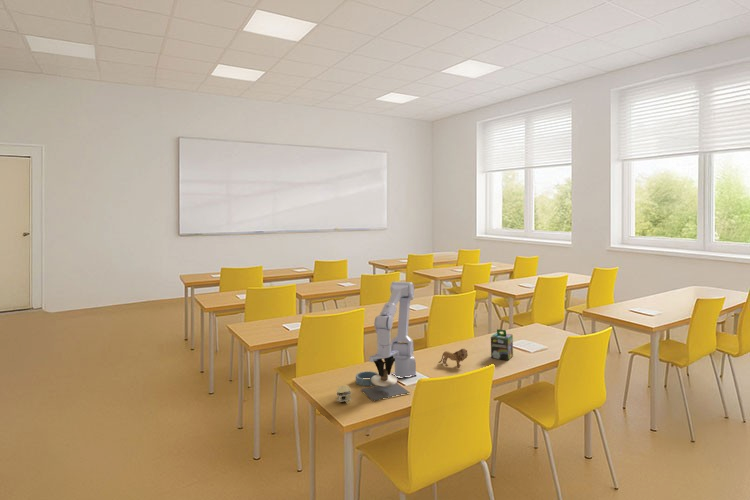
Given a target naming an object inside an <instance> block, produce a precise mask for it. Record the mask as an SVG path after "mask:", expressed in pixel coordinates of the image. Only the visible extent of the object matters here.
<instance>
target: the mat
mask: <svg viewBox="0 0 750 500" xmlns="http://www.w3.org/2000/svg"><path fill="white" fill-rule="evenodd" d="M360 392H362V393H363V392H364V393H365V394H366V395H367V396H368V397H369V398H368V397H367V396H366V395H365V394H364V393H363V394H364V395H365V396H366V397H367V398H368V399H370V400H371V399H372V400H373V401H374V400H379V399H383V398H388V397H392V396H396V395H401V394H407V393H410V394H411V392H410V391H408V390H407V389H406V388H404V387H403V386H401V385H400V384H399V383H398V382H397V383H396V384H395V385H393V386H388V387H382V386H377V385H373V386H368V387H365V388H361V389H360ZM407 395H408V394H407ZM388 399H389V398H388ZM372 400H371V401H372ZM373 401H372V402H373ZM379 401H380V400H379ZM374 402H375V401H374Z"/></svg>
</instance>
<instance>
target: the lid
mask: <svg viewBox="0 0 750 500" xmlns="http://www.w3.org/2000/svg"><path fill="white" fill-rule="evenodd" d="M377 374H378V375H374V376H373V377H372V378H371V382H372V383H373V384H374V385H373V386H382V387H388V386H393V385H395V384H396V383H397V384H398V378H397V377H395V376H394V375H392V374H390V375H388V370H387V369H385V368H384V375H383V377H381V376H379V373H377Z"/></svg>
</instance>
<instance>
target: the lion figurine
mask: <svg viewBox="0 0 750 500" xmlns="http://www.w3.org/2000/svg"><path fill="white" fill-rule="evenodd" d="M467 358H468V350H467V349H466V348H461V349H459V350H457V351H455V352H451V351H450V350H447V351H444V352H443V353H442V356H441V359H440V361H439V362H438V364H440V363H443V364H445V367H448V366H449V364H448V363H447V361H448V359H449V360H451V361H452V362H453V361H454V362H456V367H457V368H461V364H460V362H463V361H464V360H466V359H467Z"/></svg>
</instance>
